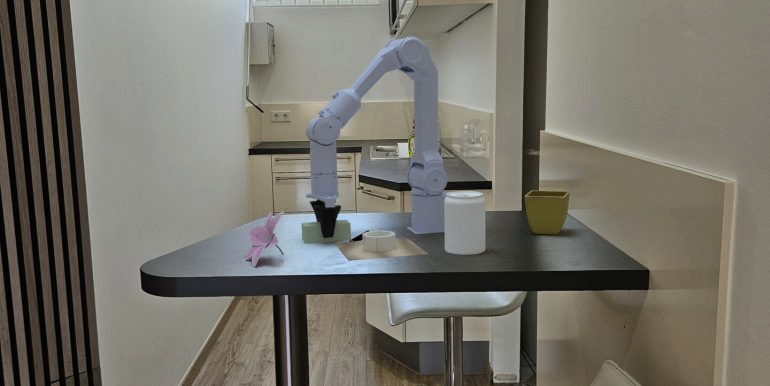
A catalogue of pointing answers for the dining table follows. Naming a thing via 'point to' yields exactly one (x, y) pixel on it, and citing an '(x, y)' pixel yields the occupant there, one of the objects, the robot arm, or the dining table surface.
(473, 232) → the beverage can
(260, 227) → the lily
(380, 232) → the white octagonal prism
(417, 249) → the mat
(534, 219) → the flower pot
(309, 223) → the green rectangular block
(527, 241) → the dining table surface
